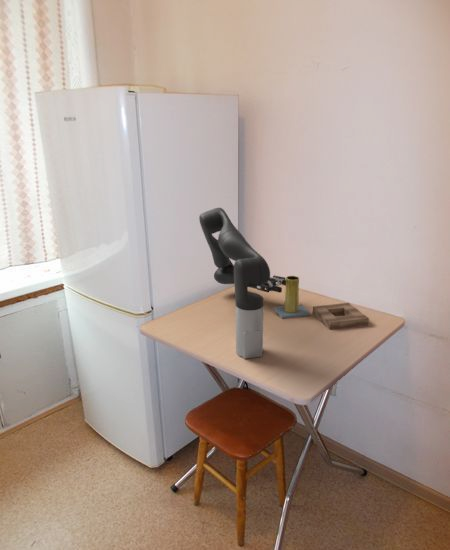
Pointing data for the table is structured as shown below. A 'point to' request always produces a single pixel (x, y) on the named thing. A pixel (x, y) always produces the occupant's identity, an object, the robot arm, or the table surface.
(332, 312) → the socket stand
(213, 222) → the robot arm
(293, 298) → the vase
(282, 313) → the slate mat
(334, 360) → the table surface
